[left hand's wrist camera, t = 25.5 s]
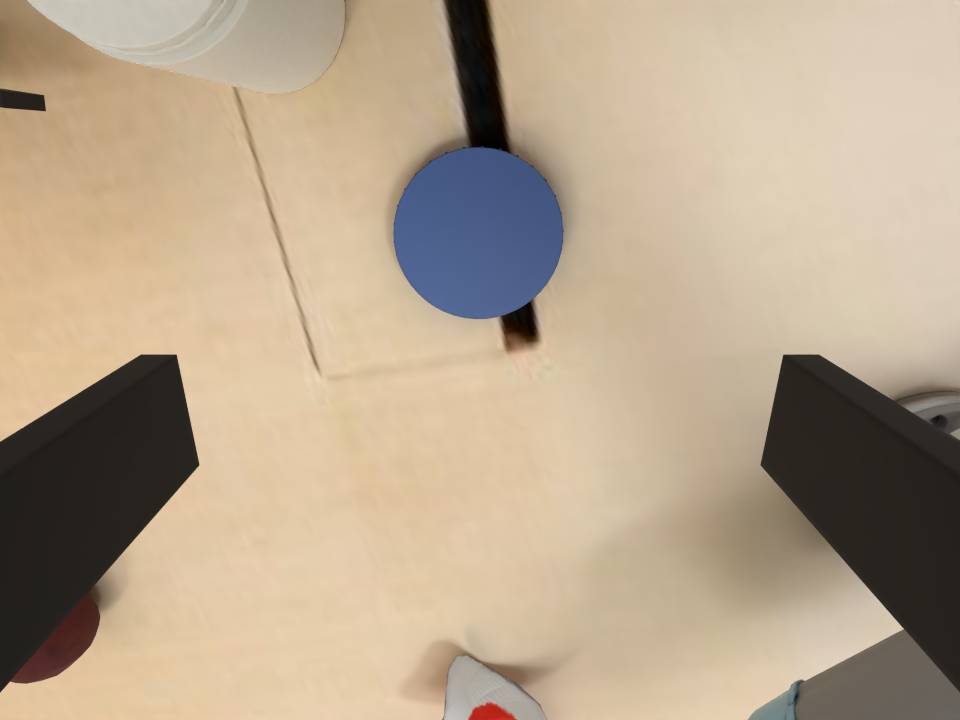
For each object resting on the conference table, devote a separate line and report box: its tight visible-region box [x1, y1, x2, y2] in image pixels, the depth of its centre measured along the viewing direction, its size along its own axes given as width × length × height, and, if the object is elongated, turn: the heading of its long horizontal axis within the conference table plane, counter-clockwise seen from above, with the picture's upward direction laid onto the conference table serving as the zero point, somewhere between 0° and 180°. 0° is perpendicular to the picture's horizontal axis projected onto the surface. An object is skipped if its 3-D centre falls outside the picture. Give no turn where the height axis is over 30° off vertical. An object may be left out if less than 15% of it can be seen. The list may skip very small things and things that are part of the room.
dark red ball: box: [11, 594, 100, 684], centre depth 44 cm, size 7×8×7 cm
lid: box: [394, 146, 563, 319], centre depth 36 cm, size 11×11×2 cm
